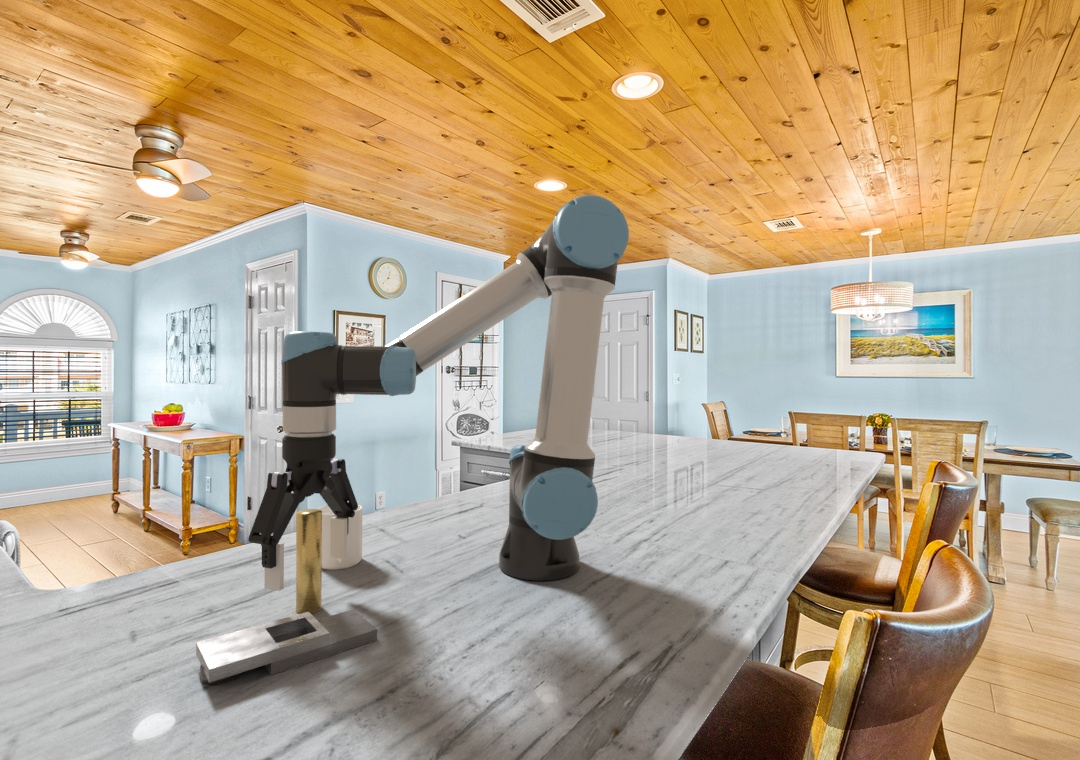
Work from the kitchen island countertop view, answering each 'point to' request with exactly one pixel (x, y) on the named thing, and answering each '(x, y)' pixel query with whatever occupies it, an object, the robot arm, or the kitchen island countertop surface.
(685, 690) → the kitchen island countertop surface
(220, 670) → the slotted metal plate
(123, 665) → the kitchen island countertop surface
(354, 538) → the mug
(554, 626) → the kitchen island countertop surface
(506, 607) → the kitchen island countertop surface
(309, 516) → the pin
